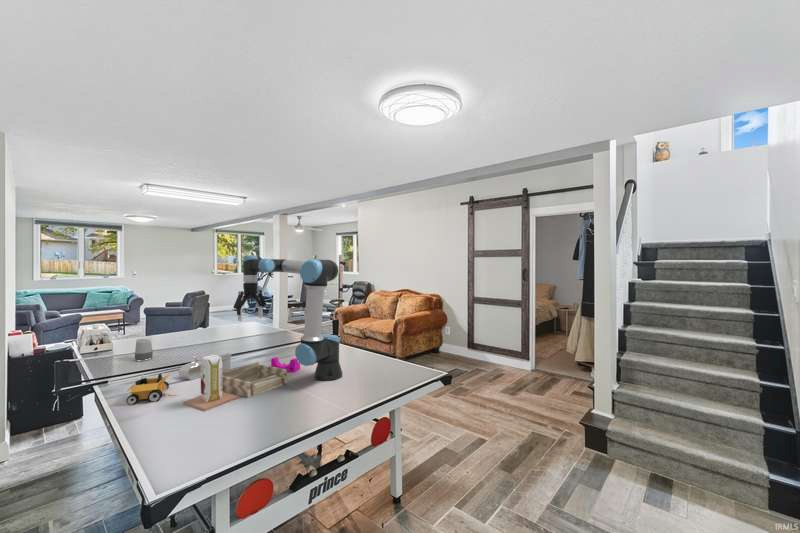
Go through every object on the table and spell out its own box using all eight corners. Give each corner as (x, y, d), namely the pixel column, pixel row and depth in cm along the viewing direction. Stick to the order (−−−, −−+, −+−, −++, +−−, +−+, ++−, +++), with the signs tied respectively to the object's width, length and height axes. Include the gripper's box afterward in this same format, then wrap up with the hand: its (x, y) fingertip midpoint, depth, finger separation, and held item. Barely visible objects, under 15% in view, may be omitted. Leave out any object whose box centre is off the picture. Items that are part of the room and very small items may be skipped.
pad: (238, 398, 159) (238, 396, 159) (205, 411, 145) (204, 408, 145) (217, 392, 166) (217, 390, 166) (183, 403, 152) (183, 401, 152)
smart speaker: (145, 362, 219) (145, 340, 220) (131, 362, 220) (131, 340, 220) (156, 358, 229) (156, 337, 229) (142, 358, 229) (142, 337, 229)
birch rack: (287, 382, 180) (286, 367, 180) (248, 397, 159) (248, 380, 159) (257, 376, 191) (256, 361, 191) (217, 389, 170) (217, 373, 170)
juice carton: (217, 394, 161) (217, 353, 161) (223, 399, 155) (223, 357, 155) (199, 398, 156) (199, 356, 156) (205, 403, 150) (205, 360, 150)
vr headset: (205, 373, 195) (202, 353, 195) (214, 373, 191) (211, 353, 191) (179, 381, 183) (176, 360, 183) (188, 381, 178) (185, 360, 179)
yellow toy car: (135, 394, 165) (135, 372, 165) (172, 390, 170) (172, 369, 170) (124, 406, 151) (124, 382, 151) (164, 401, 156) (164, 378, 156)
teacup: (241, 368, 201) (238, 351, 200) (225, 378, 186) (223, 359, 186) (222, 369, 202) (219, 353, 202) (205, 379, 187) (202, 361, 187)
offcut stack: (282, 386, 175) (282, 377, 175) (253, 396, 162) (253, 385, 162) (274, 383, 179) (274, 374, 179) (245, 392, 167) (245, 383, 167)
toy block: (300, 370, 203) (299, 357, 203) (294, 373, 197) (294, 360, 197) (277, 368, 206) (276, 356, 206) (271, 371, 200) (271, 358, 200)
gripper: (263, 281, 211) (264, 315, 211) (226, 283, 189) (226, 321, 189) (272, 281, 207) (272, 316, 207) (235, 283, 185) (235, 322, 185)
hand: (250, 319), depth 198 cm, fingers open, 13 cm apart
